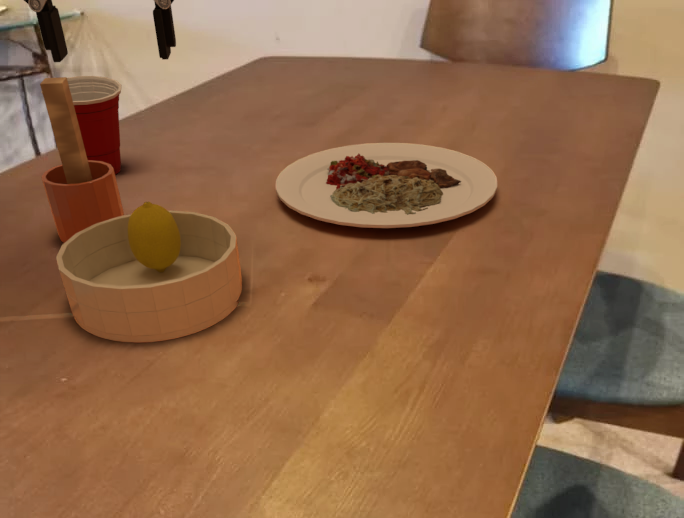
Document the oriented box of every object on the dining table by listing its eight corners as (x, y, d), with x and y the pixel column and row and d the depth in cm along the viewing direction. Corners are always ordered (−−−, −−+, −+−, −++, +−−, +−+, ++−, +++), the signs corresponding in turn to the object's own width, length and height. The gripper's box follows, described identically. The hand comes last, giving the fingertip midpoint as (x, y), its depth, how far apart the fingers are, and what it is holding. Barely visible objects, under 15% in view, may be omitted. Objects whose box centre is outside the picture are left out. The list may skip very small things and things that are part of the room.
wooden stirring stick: (72, 240, 89) (28, 86, 78) (79, 225, 92) (37, 76, 81) (108, 238, 89) (69, 84, 78) (113, 223, 92) (77, 74, 81)
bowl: (55, 348, 72) (37, 293, 68) (90, 264, 85) (76, 215, 81) (240, 336, 72) (232, 282, 68) (244, 255, 86) (238, 206, 82)
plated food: (455, 256, 84) (458, 228, 82) (235, 218, 94) (232, 192, 92) (520, 169, 105) (524, 145, 102) (333, 146, 115) (332, 123, 112)
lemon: (171, 286, 79) (156, 215, 74) (127, 279, 80) (110, 209, 75) (194, 264, 83) (182, 194, 78) (152, 258, 84) (137, 189, 79)
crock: (54, 252, 88) (34, 187, 83) (68, 224, 94) (50, 162, 89) (122, 248, 88) (106, 183, 83) (132, 221, 94) (117, 158, 89)
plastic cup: (86, 191, 103) (62, 101, 95) (52, 172, 109) (27, 85, 101) (152, 171, 108) (135, 84, 100) (116, 154, 114) (97, 70, 106)
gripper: (182, -189, 59) (209, 45, 71) (-33, -187, 58) (29, 50, 70) (173, -190, 54) (204, 65, 65) (-65, -188, 53) (8, 70, 64)
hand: (113, 57), depth 67 cm, fingers open, 9 cm apart
